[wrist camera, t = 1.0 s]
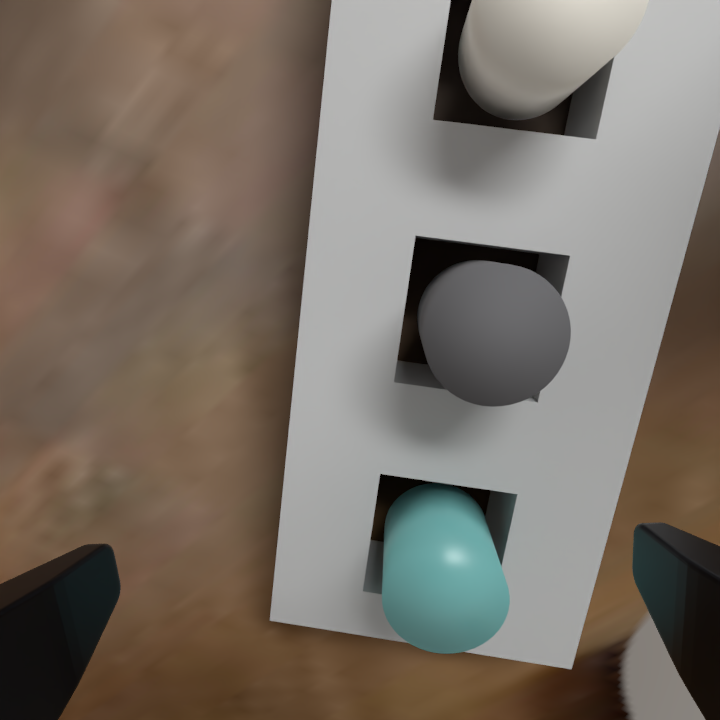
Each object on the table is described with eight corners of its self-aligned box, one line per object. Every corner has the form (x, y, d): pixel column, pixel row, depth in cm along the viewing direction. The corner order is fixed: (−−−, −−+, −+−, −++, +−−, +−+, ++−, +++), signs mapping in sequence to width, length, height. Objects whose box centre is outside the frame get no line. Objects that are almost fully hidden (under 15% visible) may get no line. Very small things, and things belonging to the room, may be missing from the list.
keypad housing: (708, -48, 17) (787, -122, 13) (545, 606, 23) (571, 669, 19) (357, -85, 17) (348, -166, 14) (288, 565, 23) (269, 620, 20)
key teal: (495, 491, 19) (521, 554, 15) (476, 581, 20) (496, 662, 16) (392, 476, 19) (391, 534, 15) (378, 565, 20) (374, 643, 16)
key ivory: (601, -14, 15) (672, -104, 11) (571, 127, 16) (628, 89, 12) (470, -29, 15) (495, -122, 11) (448, 112, 16) (465, 70, 12)
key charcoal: (542, 267, 17) (586, 274, 13) (518, 379, 18) (553, 415, 14) (426, 252, 17) (436, 254, 13) (409, 364, 18) (413, 395, 14)
